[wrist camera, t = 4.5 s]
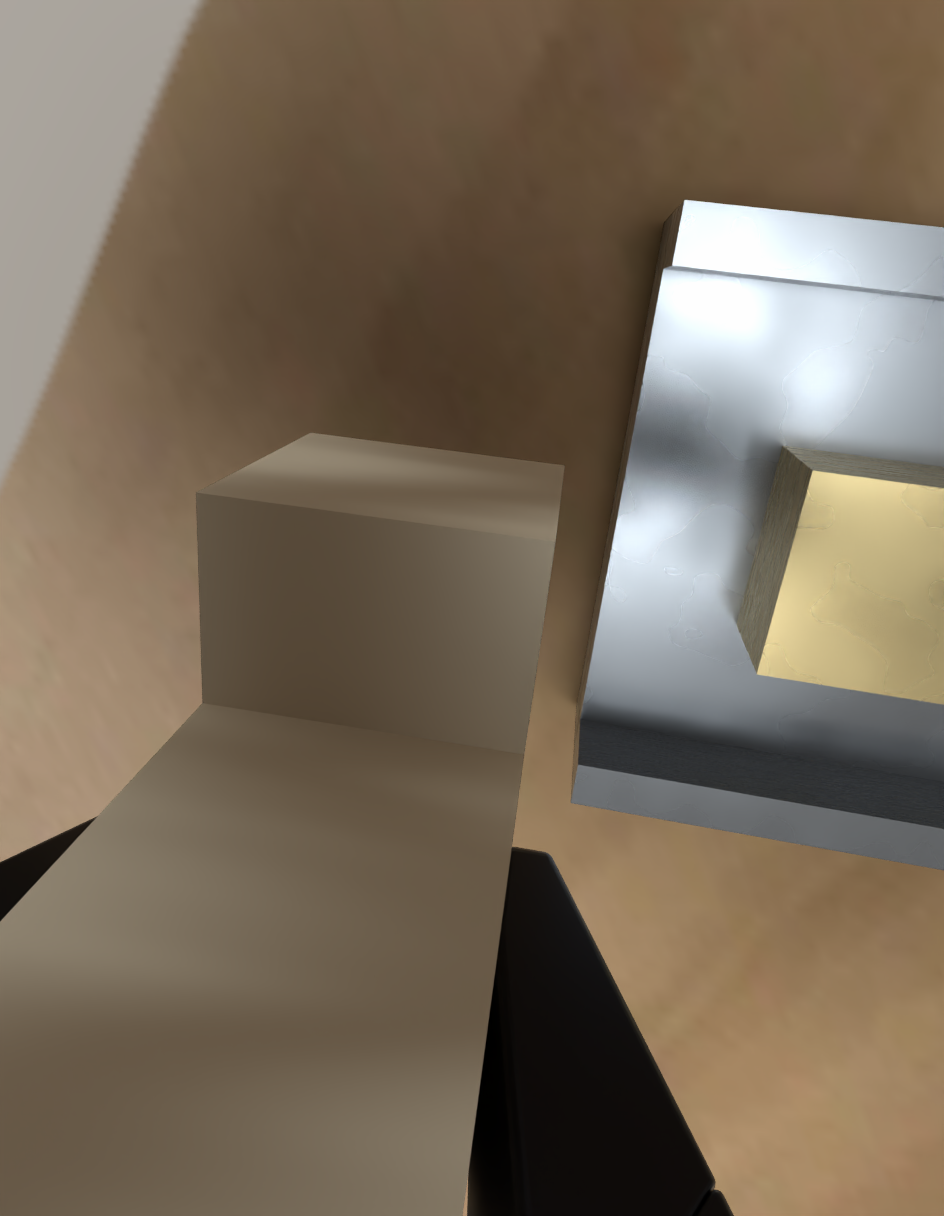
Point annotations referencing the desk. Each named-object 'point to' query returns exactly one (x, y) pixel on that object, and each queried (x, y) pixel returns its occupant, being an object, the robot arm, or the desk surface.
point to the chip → (850, 576)
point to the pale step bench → (295, 862)
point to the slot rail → (731, 524)
